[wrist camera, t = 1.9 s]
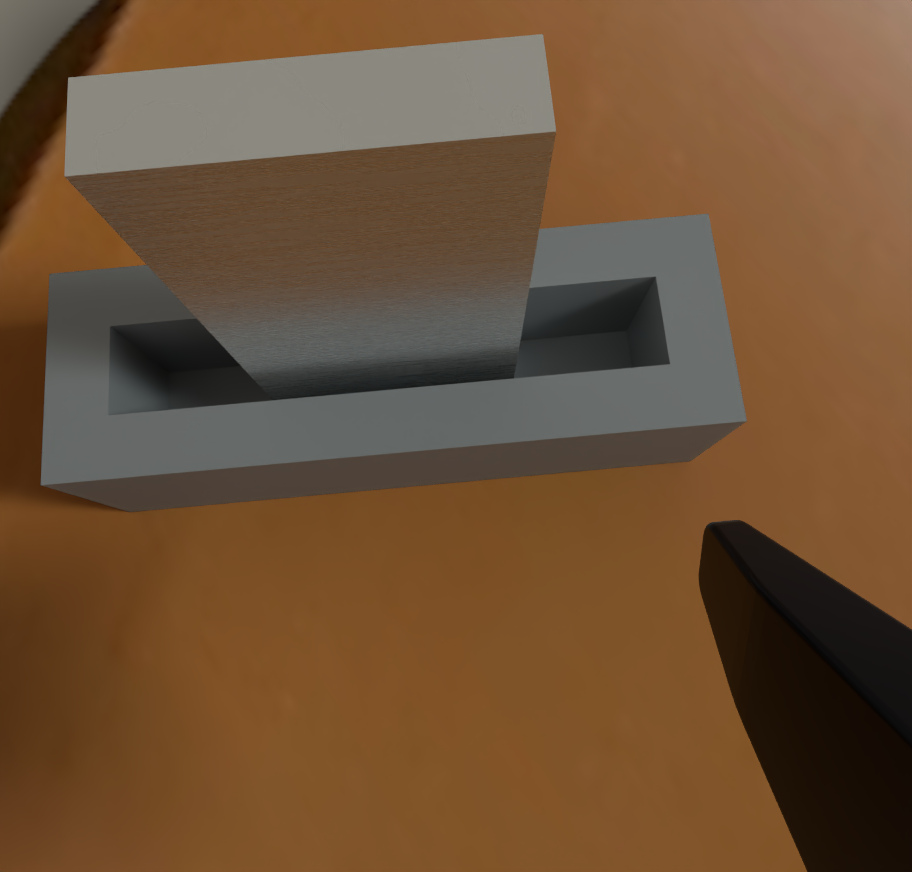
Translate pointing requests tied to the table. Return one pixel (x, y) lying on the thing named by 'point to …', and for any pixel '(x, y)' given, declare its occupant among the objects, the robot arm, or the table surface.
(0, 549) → the table surface
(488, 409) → the slot box
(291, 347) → the cover plate
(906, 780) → the robot arm
